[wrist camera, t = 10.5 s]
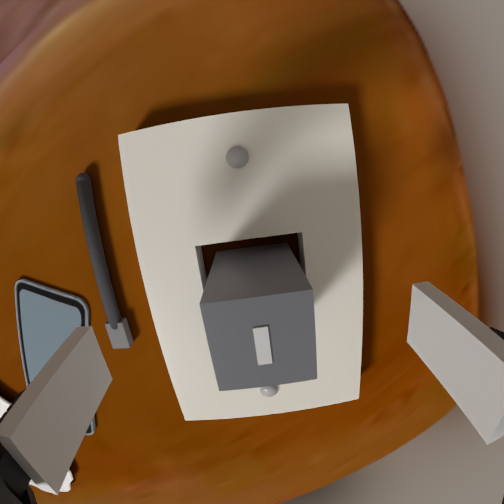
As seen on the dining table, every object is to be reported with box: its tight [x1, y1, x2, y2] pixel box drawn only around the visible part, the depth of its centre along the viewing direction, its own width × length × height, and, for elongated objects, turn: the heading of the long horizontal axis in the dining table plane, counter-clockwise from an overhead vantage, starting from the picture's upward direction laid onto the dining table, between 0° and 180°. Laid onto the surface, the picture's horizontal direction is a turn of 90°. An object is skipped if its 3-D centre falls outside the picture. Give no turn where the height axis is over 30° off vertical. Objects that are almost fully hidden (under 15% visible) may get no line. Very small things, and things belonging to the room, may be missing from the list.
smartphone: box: [15, 279, 96, 435], centre depth 22 cm, size 7×1×15 cm
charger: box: [200, 242, 317, 391], centre depth 16 cm, size 4×4×8 cm
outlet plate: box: [118, 103, 363, 421], centre depth 19 cm, size 20×13×2 cm, turn 7°
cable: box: [76, 173, 134, 349], centre depth 19 cm, size 12×1×1 cm, turn 7°
